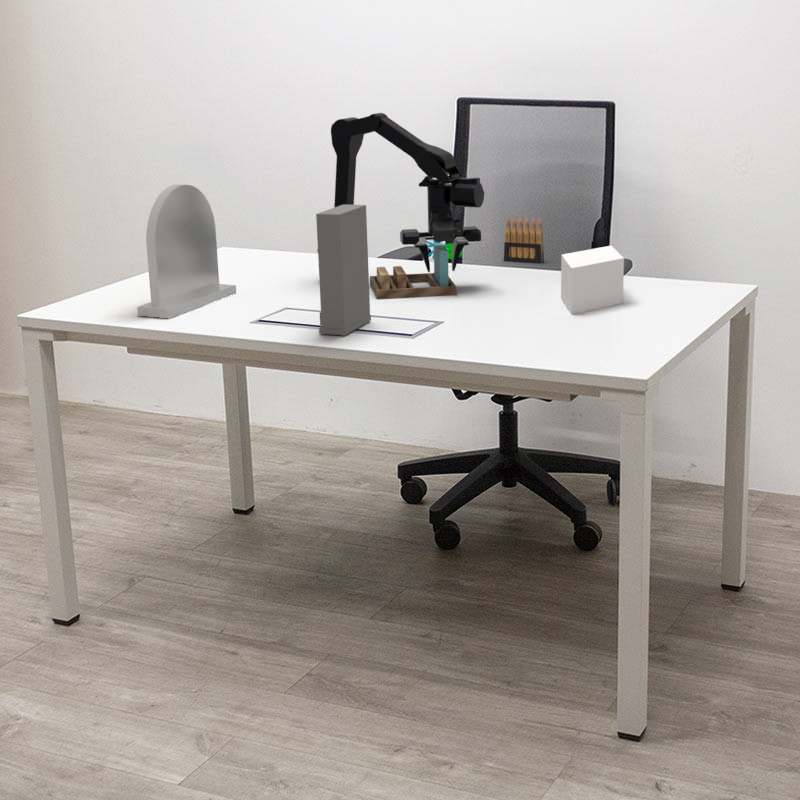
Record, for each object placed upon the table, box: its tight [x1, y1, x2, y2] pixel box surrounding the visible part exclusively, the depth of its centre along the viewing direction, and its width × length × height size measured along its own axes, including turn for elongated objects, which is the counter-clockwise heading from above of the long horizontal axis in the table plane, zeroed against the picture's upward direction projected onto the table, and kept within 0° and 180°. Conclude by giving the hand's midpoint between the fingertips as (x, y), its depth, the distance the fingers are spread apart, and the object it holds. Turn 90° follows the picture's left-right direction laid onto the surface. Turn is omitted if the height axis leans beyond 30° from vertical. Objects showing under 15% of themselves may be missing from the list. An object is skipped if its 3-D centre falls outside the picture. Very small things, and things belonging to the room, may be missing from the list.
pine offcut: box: [376, 266, 390, 290], centre depth 297 cm, size 2×10×5 cm, turn 6°
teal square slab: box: [433, 242, 450, 287], centre depth 298 cm, size 2×10×10 cm, turn 6°
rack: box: [369, 272, 458, 300], centre depth 298 cm, size 19×18×2 cm
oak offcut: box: [392, 265, 407, 289], centre depth 297 cm, size 2×10×5 cm, turn 7°
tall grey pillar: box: [315, 204, 372, 337], centre depth 259 cm, size 14×6×25 cm, turn 159°
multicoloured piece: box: [425, 240, 463, 261], centre depth 338 cm, size 12×7×8 cm
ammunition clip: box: [503, 215, 545, 265], centre depth 326 cm, size 11×2×12 cm, turn 62°
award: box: [136, 184, 237, 320], centre depth 285 cm, size 28×9×28 cm, turn 155°
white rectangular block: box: [560, 245, 625, 315], centre depth 280 cm, size 14×29×10 cm, turn 154°
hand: (441, 271), depth 298 cm, fingers open, 6 cm apart
